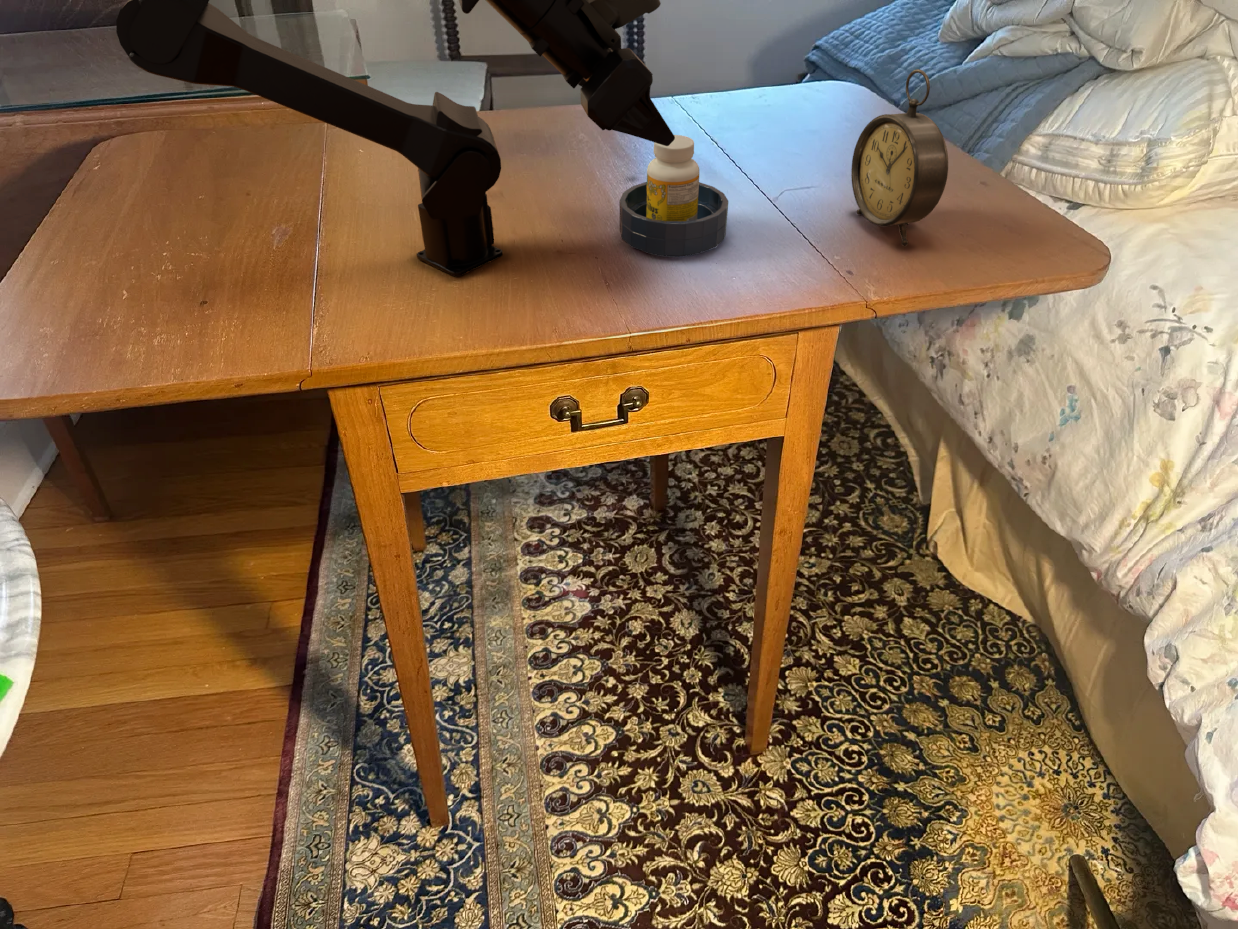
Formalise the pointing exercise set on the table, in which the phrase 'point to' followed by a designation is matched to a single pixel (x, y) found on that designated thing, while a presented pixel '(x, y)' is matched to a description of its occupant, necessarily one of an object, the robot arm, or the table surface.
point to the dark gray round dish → (673, 224)
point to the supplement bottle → (673, 182)
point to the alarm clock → (899, 167)
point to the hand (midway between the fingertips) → (659, 125)
